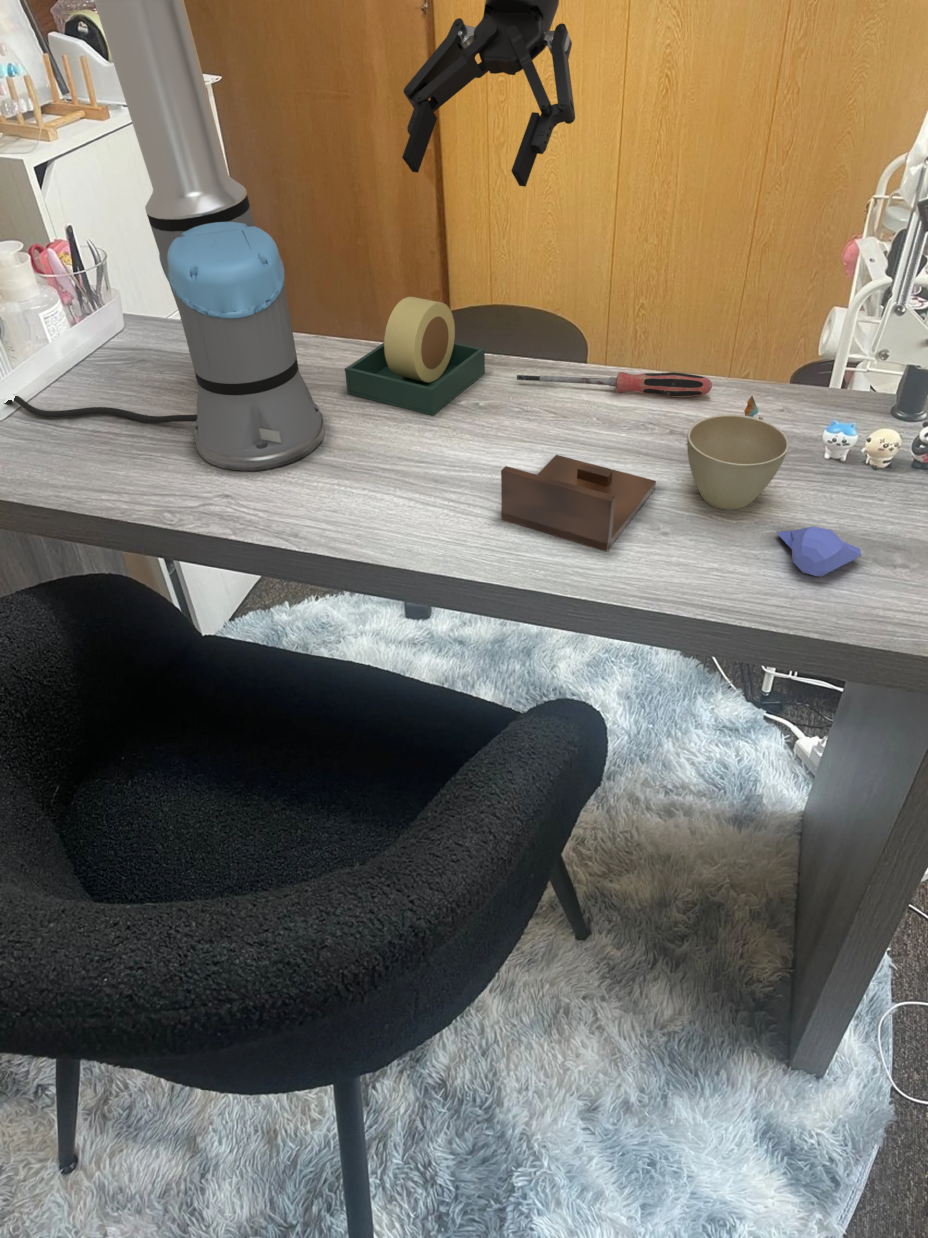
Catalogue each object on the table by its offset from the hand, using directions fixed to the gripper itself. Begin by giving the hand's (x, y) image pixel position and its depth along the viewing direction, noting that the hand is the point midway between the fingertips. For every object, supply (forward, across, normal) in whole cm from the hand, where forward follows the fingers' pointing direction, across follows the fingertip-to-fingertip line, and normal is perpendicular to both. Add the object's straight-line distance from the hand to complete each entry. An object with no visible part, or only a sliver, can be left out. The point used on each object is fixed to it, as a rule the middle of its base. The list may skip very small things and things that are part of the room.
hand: (462, 171), depth 96 cm
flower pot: (+24, -36, -14) cm, 46 cm away
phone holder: (+30, -23, -8) cm, 38 cm away
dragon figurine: (+17, -33, -21) cm, 43 cm away
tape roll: (+18, +8, -19) cm, 27 cm away
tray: (+18, +8, -19) cm, 28 cm away
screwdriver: (+12, -16, -24) cm, 31 cm away
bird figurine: (+29, -46, -8) cm, 56 cm away
